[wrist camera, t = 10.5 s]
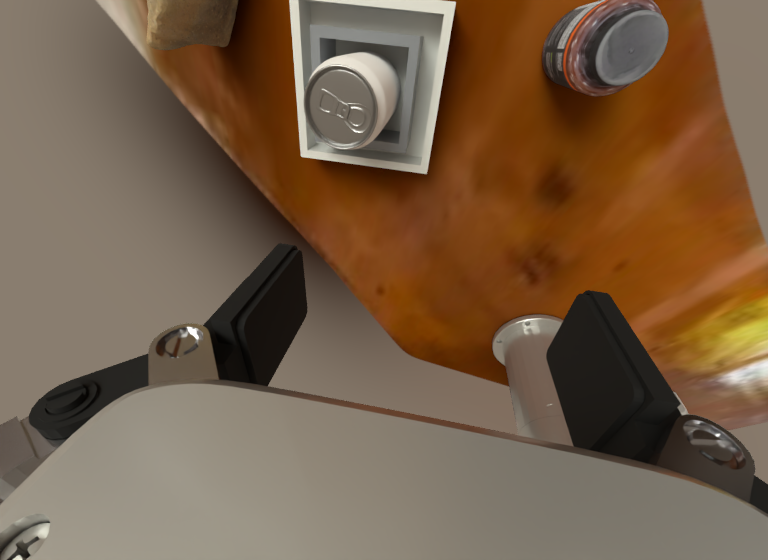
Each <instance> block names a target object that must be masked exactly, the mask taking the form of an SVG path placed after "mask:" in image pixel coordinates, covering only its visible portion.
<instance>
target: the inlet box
mask: <svg viewBox="0 0 768 560" xmlns="http://www.w3.org/2000/svg"><path fill="white" fill-rule="evenodd" d="M289 2H290V16H291V29H292V43H293V57H294V70H295V84H296V97H297V111H298V124H299V138H300V151H301V157H306V158H314V159H321V160H328V161H335V162H343V163H350V164H357V165H364V166H372V167H379V168H386V169H393V170H400V171H408V172H415V173H422V174H427V170H428V164H429V159H430V153H431V147H432V141H433V135H434V129H435V123H436V117H437V111H438V106H439V100H440V94H441V88H442V82H443V76H444V70H445V64H446V58H447V52H448V47H449V41H450V35H451V29H452V23H453V17H454V11H455V5H456V2H450V1H440V0H289ZM365 51H371V52H376V53H379V54H381V55H383V56H384V57H386V58H387V59H388V60H389V61H390V62H391V63H392V64H393V66H394V67H395V69H396V71H397V73H398V76H399V79H400V84H401V93H400V99H399V103H398V106H397V108H396V110H395V112H394V113H393V115H392V116H391V118H390V119H389V121H388V122H387V124H386V125H385V126H384V128H383V129H382V131H381V132H380V133H379V135H378V136H377V137H376V138H375V139H374V140H373V141H372V142H371V143H369V144H368V145H366V146H364V147H362V148H358V149H353V150H340V149H335V148H332V147H330V146H328V145H326V144H325V143H323V142H322V141H321V140H320V139H319V138H318V137H317V136H316V135H315V134H314V133H313V131H312V130H311V128H310V126H309V124H308V122H307V119H306V116H305V112H304V93H305V89H306V86H307V84H308V82H309V79H310V77H311V75H312V74H313V72H314V71H315V69H316V68H317V67H318V66H319V65H320V64H322V63H323V62H324V61H326V60H328V59H330V58H333V57H336V56H341V55H346V54H351V53H357V52H365Z"/></svg>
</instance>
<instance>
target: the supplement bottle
mask: <svg viewBox="0 0 768 560" xmlns="http://www.w3.org/2000/svg"><path fill="white" fill-rule="evenodd" d="M667 41H668V26H667V23H666V21H665V19H664V18H663V16H662V14H661V11H660V9H659V7H658V6H657V4H656V3H654V1H653V0H602V1H600V0H599V1H598V2H594V3H590V4H587V5H584V6H581V7H578V8H576V9H574V10H572V11H570V12H569V13H567V14H566V15H564V16H563V17H562V18H561V19H560V20H559V21H558V22H557V23H556V24H555V25H554V27H553V28H552V29H551V31H550V33H549V35H548V36H547V39H546V41H545V44H544V47H543V52H542V64H543V68H544V71H545V73H546V75H547V76H548V77H549V79H551V80H552V81H553V82H555V83H557V84H559V85H562V86H564V87H567V88H570V89H572V90H575V91H578V92H580V93H583V94H586V95H589V96H606V95H610V94H613V93H616V92H618V91H620V90H622V89H624V88H626V87H627V86H629V85H630V84H632V83H633V82H635V81H637V80H638V79H640V78H642V77H643V76H644V75H646V74H647V73H648V72H649V71H650V70H651V69H652V68H653V67H654V66H655V65H656V64H657V62H658V61H659V59H660V58H661V56H662V54H663V53H664V50H665V48H666V45H667Z"/></svg>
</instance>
